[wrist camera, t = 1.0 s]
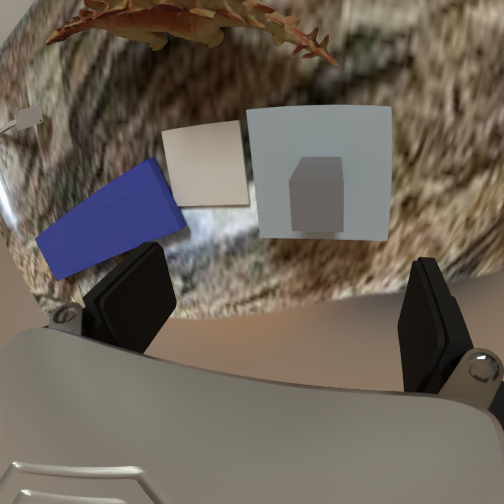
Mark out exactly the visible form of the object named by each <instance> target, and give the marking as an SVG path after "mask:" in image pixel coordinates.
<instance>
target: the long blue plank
mask: <svg viewBox="0 0 504 504" xmlns="http://www.w3.org/2000/svg"><path fill="white" fill-rule="evenodd" d="M185 226H186V223H185V221H184V219H183V217H182V215H181V212H180V210H179V208H178V206H177V204H176V202H175V200H174V198H173V196H172V194H171V192H170V189H169V187H168V185H167V183H166V181H165V179H164V177H163V175H162V172H161V170H160V168H159V166H158V164H157V162H156V159H155V157H153V158H150V159H147V160H145V161H144V162H142V163H140V164H139V165H137V166H136V167H134V168H132V169H131V170H129V171H128V172H126V173H124V174H123V175H121V176H120V177H118V178H117V179H115V180H114V181H112V182H111V183H109V184H108V185H106V186H105V187H103V188H102V189H100V190H99V191H97V192H96V193H94V194H93V195H92V196H90V197H89V198H87V199H86V200H85V201H83V202H82V203H80V204H79V205H78V206H76V207H75V208H74V209H72V210H71V211H70V212H68V213H67V214H66V215H64V216H63V217H62V218H60V219H59V220H58V221H56V222H55V223H54V224H53V225H51V226H50V227H49V228H48V229H46V230H45V231H44V232H43V233H41V234H40V235H39V236H38V237H37V238H35V240H36V242H37V244H38V246H39V248H40V250H41V252H42V254H43V256H44V258H45V260H46V262H47V264H48V265H49V267H50V269H51V271H52V273H53V275H54V276H55V278H56V280H57V281H59V280H61V279H64V278H66V277H68V276H70V275H73V274H75V273H77V272H79V271H82V270H84V269H86V268H88V267H91V266H93V265H95V264H98V263H100V262H102V261H105V260H107V259H109V258H112V257H114V256H117V255H119V254H121V253H124V252H126V251H129V250H131V249H133V248H136V247H138V246H139V245H140V244H142V243H143V242H151V241H153V240H156V239H158V238H161V237H163V236H166V235H168V234H171V233H173V232H176V231H178V230H181V229H182V228H183V227H185Z"/></svg>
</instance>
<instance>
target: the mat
mask: <svg viewBox="0 0 504 504" xmlns="http://www.w3.org/2000/svg"><path fill="white" fill-rule="evenodd" d="M162 138H163V144H164V149H165V155H166V161H167V166H168V171H169V177H170V182H171V187H172V192H173V197H174V200H175V202H176V204H177V206H201V205H238V204H250V195H249V187H248V178H247V170H246V161H245V153H244V145H243V136H242V128H241V120H234V121H226V122H217V123H210V124H203V125H196V126H189V127H183V128H177V129H171V130H166V131H162Z"/></svg>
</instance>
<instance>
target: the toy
mask: <svg viewBox="0 0 504 504" xmlns="http://www.w3.org/2000/svg"><path fill="white" fill-rule="evenodd" d="M103 1H104V2H101V1H93V0H84V3H85V5H86V6H88V7H89V8H91V9H94V10H93V11H89V10H84V9H81V10H80V15H82V17H73V21H72V22H68V21H64V23H65V26H63V27H61V28H58V29H56V30H54V31H53V33H52V35H51V36H50V37H49V38H48V39H47V41H46V45H51V44H53V43H56V42H60V41H64V40H66V39H67V38H68V37H69V36H70V35H72V34H74V33H77V32H81V31H83V30H86V29H88V28H99V29H104V30H107V31H108V32H110V33H111V34H114V35H117V36H119V37H123V38H127V39H130V40H133V41H138V42H144V43H149V47H152V51H157V50H160V49H162V48H163V47H164V46H165V45H166V43H167V42H168V38H167V35H166V34H165V33H162V32H169V33H170V34H171V35H173V36H175V37H180V38H184V39H186V40H191V41H195V42H198V43H203V44H207V45H208V47H209V48H213V47H217V46H218V45H220V44H221V42H222V41H223V39H224V32H223V31H222V30H221V29H220V27H250V28H255V29H259V30H262V31H266V32H269V33H271V34H272V38H273V42H274V44H275V45H276V46H280V45H281V44H283V43H284V42H285V41H286V42H290V43H293V44H295V45H297V47H296V49H295V50H294V51H293V52H292V56H294V55H296V54H297V53H298V52H299V51H301V50H302V49H307V50H309V51H311V52H310V53H308V54H305V55H303V57H302V58H313V57H316V56H319V57H321V58H323V59H325V60H326V61H327V62H329V63H330V64H331V65H333V66H335V67H337V68H338V66H339V65H338V64H337V62H336V61H335V60H334V58H333V57H332V56H331V55H330V54H329V53H328V52H327V45H328V42H329V35H326V37H325V38H324V39H323V41H322V42H321V44H320V45H319V44H318V43H317V41H316V36H317V33H318V30H319V29H318V27H317V26H316V27H315V29H314V30H313V31H312V33H311V34H309V35H305V34H304V33H302V32H301V30H300V29H299V28H298V27H297V24H298V23H299V22H300V18H299V17H294V16H289V17H283V16H282V15H281V14H279V13H277V12H276V10H277V9H275V8H272V7H270V6H268V5H267V4H265V3H263V2H261V1H259V0H103Z"/></svg>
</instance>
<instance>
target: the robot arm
mask: <svg viewBox="0 0 504 504" xmlns="http://www.w3.org/2000/svg"><path fill="white" fill-rule="evenodd" d="M82 299H83V301H84V303H85V306H86V307H85V308H84V309H83V308H82V306H81V305H80V304H79V303H76V302H71V303H67V304H64V305H62V306H60V307H59V308H57V309H56V310H55V311H54V312H53V313H52V315H51V317H50V320H49V325H48V326H45V327H41V328H30V329H26V330H22V331H20V332H19V333H17V334H16V335H14V336H13V337H12V338H11V339H10V340H9V341H8V342H7V343H5V345H3V346H2V347H1V349H0V504H504V382H503V381H502V379H503V375H504V368H503V365H502V362H501V360H500V359H499V358H498V357H497V355H495V354H494V353H493V352H491V351H489V350H487V349H482V348H474V347H473V344H472V341H471V338H470V335H469V332H468V329H467V327H466V324H465V322H464V319H463V316H462V313H461V311H460V308H459V306H458V304H457V301H456V299H455V297H453V296H451V294H450V291H449V289H448V287H447V284H446V282H445V280H444V277H443V275H442V273H441V271H440V268H439V266H438V264H437V262H436V260H435V258H428V257H419V258H418V260H417V261H413V263H412V267H411V272H410V276H409V281H408V285H407V289H406V293H405V298H404V302H403V306H402V309H401V314H400V317H399V321H398V337H399V343H400V353H401V362H402V372H403V383H404V392H398V391H374V390H358V389H346V388H333V387H322V386H312V385H303V384H294V383H286V382H279V381H271V380H265V379H258V378H252V377H246V376H240V375H235V374H229V373H224V372H218V371H213V370H209V369H204V368H199V367H194V366H190V365H185V364H181V363H177V362H172V361H169V360H165V359H160V358H157V357H152V356H149V355H145V354H143V353H144V352H145V350H146V349H147V348H148V346H149V345H150V343H151V342H152V340H153V339H154V338H155V336H156V335H157V333H158V332H159V330H160V329H161V327H162V326H163V325H164V323H165V322H166V321H167V319H168V318H169V316H170V315H171V314H172V312H173V311H174V309H175V308H176V303H177V301H176V297H175V293H174V290H173V286H172V282H171V278H170V274H169V271H168V267H167V263H166V259H165V255H164V250H163V248H162V247H161V246H160V245H159V244H158V243H157V242H143V243H142V244H140V245H139V246H138V247H137V248H136V249H135V250H134V251H132V252H131V253H130V254H129V255H128V256H127V257H126V258H125V259H123V260H122V261H121V262H120V263H119V264H118V265H117V266H116V267H115V268H114V269H113V270H111V271H110V272H109V273H108V274H107V275H106V276H105V277H104V278H103V279H102V280H101V281H100V282H99V283H97V284H96V285H95V286H94V287H93V288H92V289H91V290H90V291H89V292H88V293H87V294H86V295H85V296H84V297H83V298H82Z"/></svg>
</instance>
